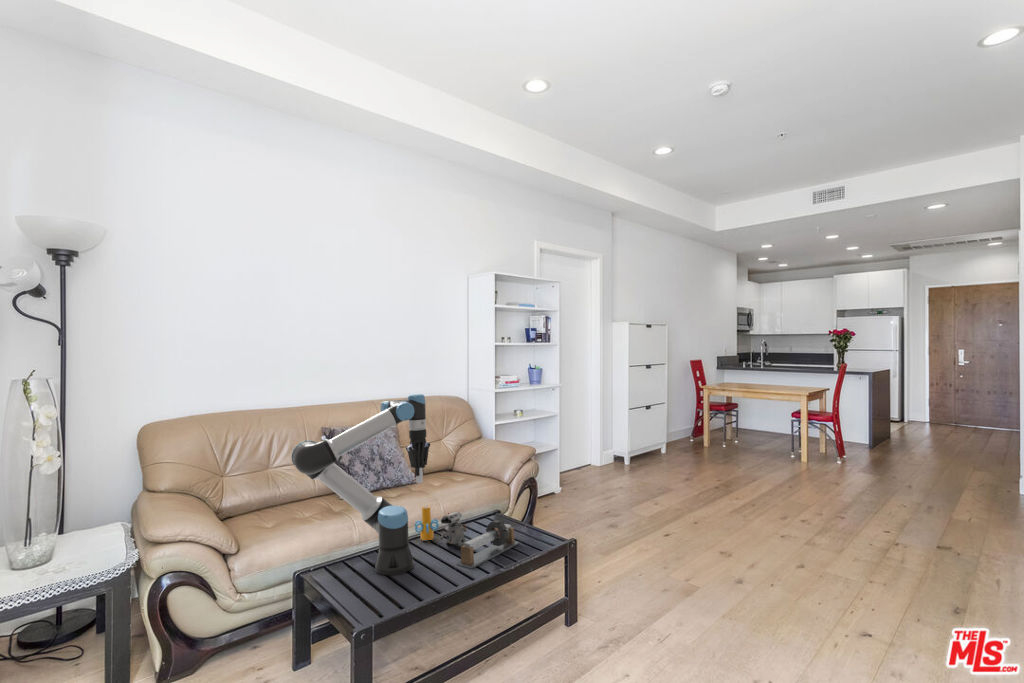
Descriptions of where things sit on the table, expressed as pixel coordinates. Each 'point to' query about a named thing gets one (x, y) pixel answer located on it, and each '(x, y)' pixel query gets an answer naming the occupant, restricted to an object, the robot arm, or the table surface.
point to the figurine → (453, 529)
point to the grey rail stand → (476, 559)
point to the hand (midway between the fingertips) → (419, 482)
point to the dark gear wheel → (502, 530)
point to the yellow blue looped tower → (426, 524)
